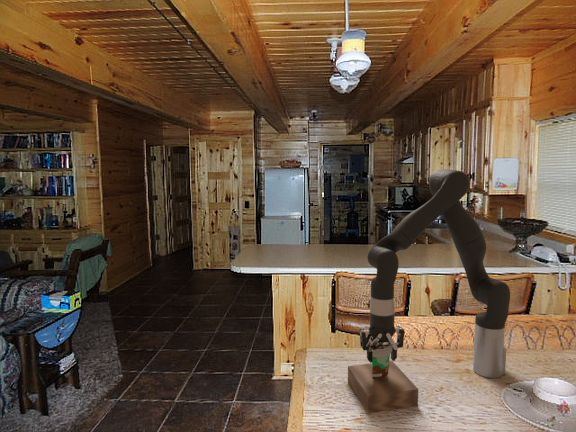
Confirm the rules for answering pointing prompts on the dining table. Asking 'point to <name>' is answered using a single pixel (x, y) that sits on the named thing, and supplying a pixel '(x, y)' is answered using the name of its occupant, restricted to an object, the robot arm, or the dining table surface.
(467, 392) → the dining table surface
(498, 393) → the dining table surface
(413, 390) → the walnut box
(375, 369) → the food container
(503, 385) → the dining table surface
